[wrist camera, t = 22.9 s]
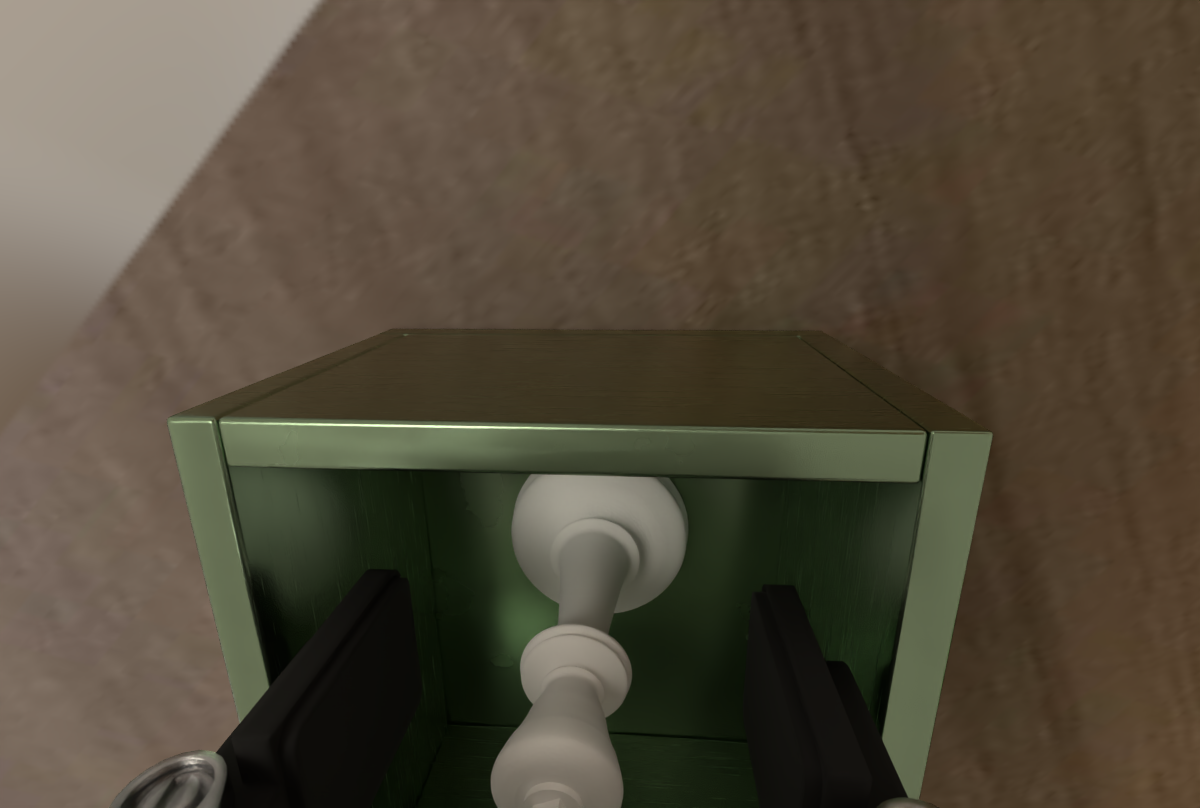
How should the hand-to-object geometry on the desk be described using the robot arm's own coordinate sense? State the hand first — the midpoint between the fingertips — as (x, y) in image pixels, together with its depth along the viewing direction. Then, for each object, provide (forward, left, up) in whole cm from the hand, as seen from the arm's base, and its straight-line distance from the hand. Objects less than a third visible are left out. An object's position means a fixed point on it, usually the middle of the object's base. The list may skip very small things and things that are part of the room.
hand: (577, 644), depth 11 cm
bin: (+2, 0, -6) cm, 6 cm away
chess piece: (0, 0, -5) cm, 5 cm away
